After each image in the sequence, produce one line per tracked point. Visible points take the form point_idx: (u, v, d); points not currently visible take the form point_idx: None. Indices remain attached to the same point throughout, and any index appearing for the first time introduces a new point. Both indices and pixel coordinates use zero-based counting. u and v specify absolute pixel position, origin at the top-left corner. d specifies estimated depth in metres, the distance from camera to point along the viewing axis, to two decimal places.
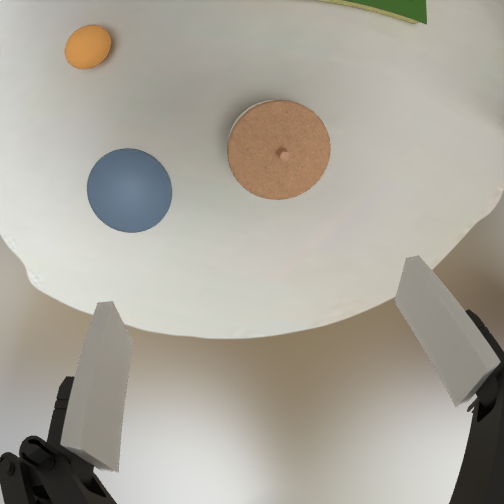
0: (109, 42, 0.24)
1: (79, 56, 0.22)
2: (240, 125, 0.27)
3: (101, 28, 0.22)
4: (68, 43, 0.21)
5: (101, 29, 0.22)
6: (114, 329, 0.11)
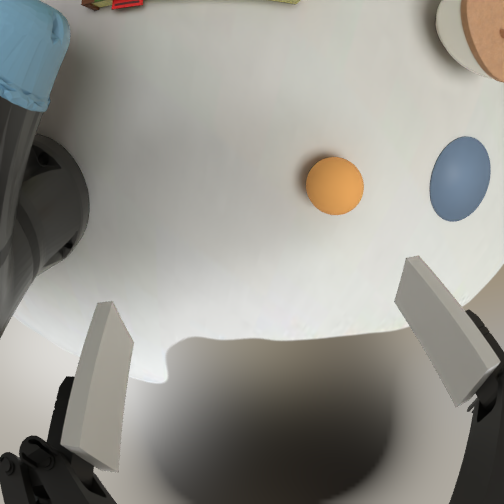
0: (342, 159, 0.26)
1: (357, 197, 0.25)
2: (483, 56, 0.16)
3: (323, 166, 0.25)
4: (332, 209, 0.26)
5: (326, 166, 0.25)
6: (114, 329, 0.11)
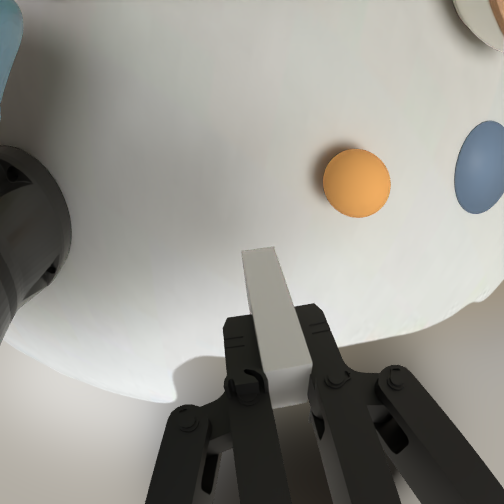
0: (364, 151, 0.21)
1: (385, 196, 0.21)
2: None
3: (344, 161, 0.20)
4: (356, 212, 0.21)
5: (347, 161, 0.20)
6: None
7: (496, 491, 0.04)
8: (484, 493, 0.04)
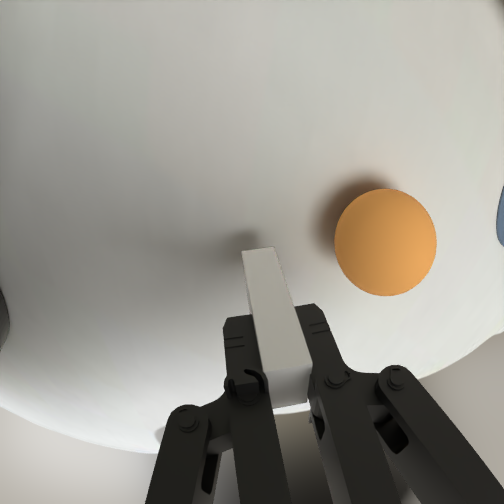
0: (401, 195, 0.13)
1: (429, 268, 0.13)
2: None
3: (371, 215, 0.12)
4: (385, 294, 0.13)
5: (377, 216, 0.12)
6: None
7: (496, 491, 0.04)
8: (484, 493, 0.04)
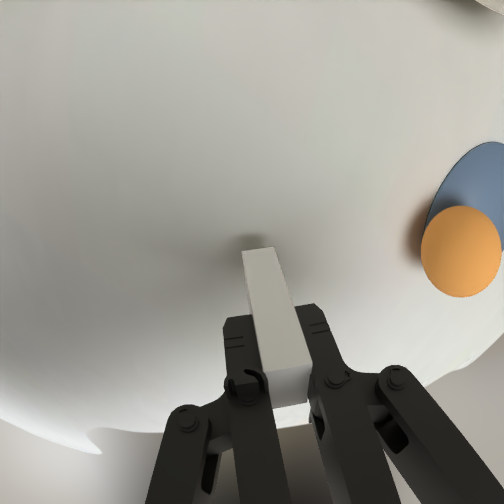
0: (479, 214, 0.13)
1: (473, 282, 0.13)
2: None
3: (446, 215, 0.14)
4: (435, 283, 0.15)
5: (448, 217, 0.14)
6: None
7: (496, 492, 0.04)
8: (484, 493, 0.04)
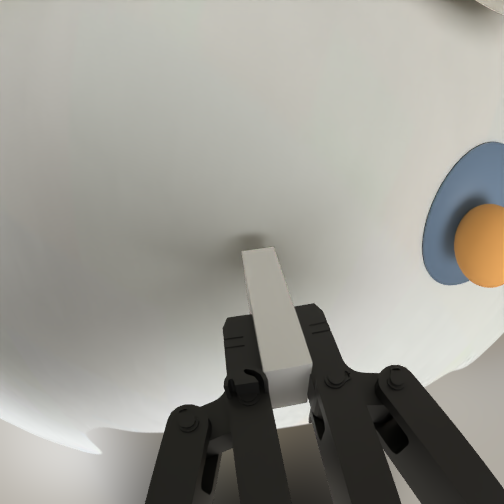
0: None
1: None
2: None
3: (498, 227, 0.13)
4: (499, 285, 0.14)
5: (502, 227, 0.13)
6: None
7: (496, 492, 0.04)
8: (484, 493, 0.04)
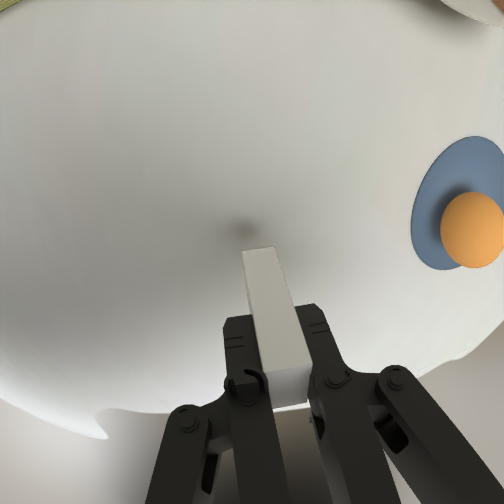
0: (486, 196, 0.16)
1: None
2: None
3: (478, 211, 0.15)
4: (483, 265, 0.16)
5: (482, 211, 0.15)
6: None
7: (496, 491, 0.04)
8: (484, 493, 0.04)
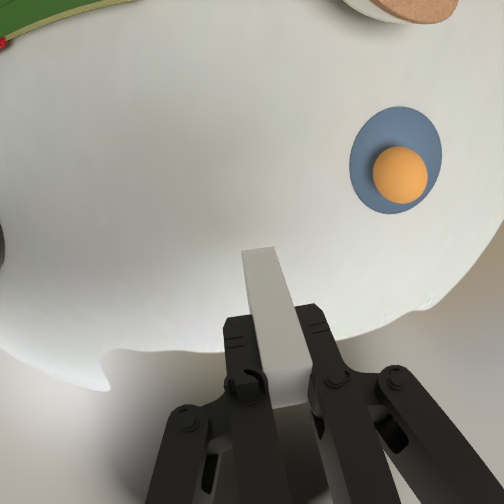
0: (407, 148, 0.24)
1: (426, 184, 0.24)
2: None
3: (397, 157, 0.23)
4: (407, 199, 0.24)
5: (400, 157, 0.23)
6: None
7: (496, 491, 0.04)
8: (484, 493, 0.04)
